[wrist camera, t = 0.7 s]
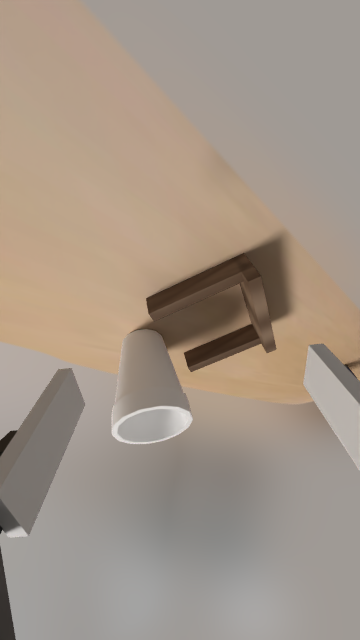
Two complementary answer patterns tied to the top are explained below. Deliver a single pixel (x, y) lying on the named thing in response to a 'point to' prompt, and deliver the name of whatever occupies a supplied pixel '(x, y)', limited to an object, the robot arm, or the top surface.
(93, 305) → the top surface
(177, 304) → the corral
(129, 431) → the foam cup
